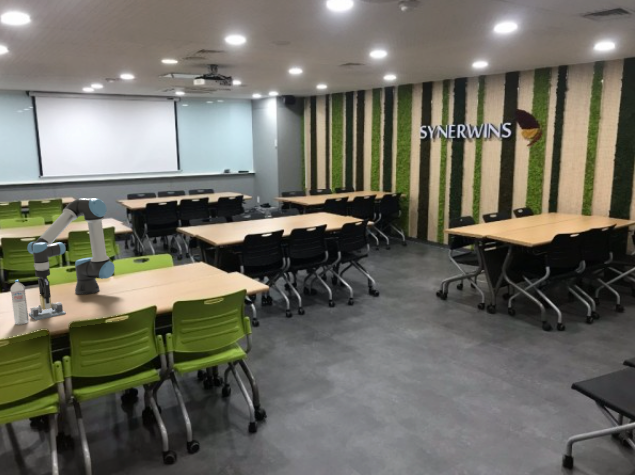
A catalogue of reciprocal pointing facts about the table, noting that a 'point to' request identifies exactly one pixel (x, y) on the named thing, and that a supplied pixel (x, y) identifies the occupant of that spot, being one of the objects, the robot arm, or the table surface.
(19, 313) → the water bottle
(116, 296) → the table surface
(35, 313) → the shaft bench
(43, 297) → the pale yellow block
